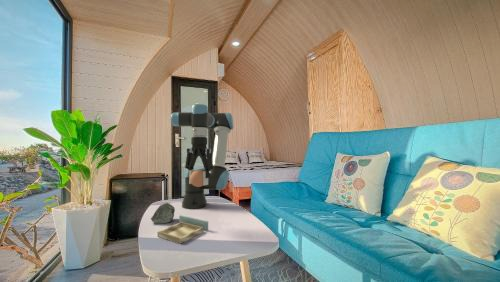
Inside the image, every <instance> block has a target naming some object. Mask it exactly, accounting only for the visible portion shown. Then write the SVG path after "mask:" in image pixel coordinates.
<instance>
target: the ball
mask: <svg viewBox="0 0 500 282" xmlns="http://www.w3.org/2000/svg"><path fill="white" fill-rule="evenodd" d="M190 181H191V183H192V185H194V186H196V187H201V186H203V171H202V170H196V171H194V172H193V173H192V174H191V176H190Z"/></svg>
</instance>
